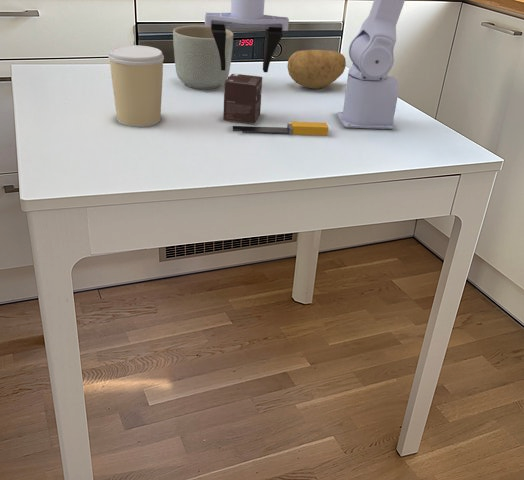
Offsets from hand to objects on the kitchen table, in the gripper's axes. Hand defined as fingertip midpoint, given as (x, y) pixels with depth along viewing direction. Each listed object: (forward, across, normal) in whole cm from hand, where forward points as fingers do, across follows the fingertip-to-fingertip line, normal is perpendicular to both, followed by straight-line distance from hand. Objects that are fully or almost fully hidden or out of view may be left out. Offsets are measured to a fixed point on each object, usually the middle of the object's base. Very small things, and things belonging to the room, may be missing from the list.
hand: (244, 70), depth 116 cm
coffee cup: (+9, +19, +3) cm, 21 cm away
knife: (+9, -6, +7) cm, 13 cm away
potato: (+9, -18, -23) cm, 31 cm away
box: (+9, 0, 0) cm, 9 cm away
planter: (+9, +7, -21) cm, 24 cm away
